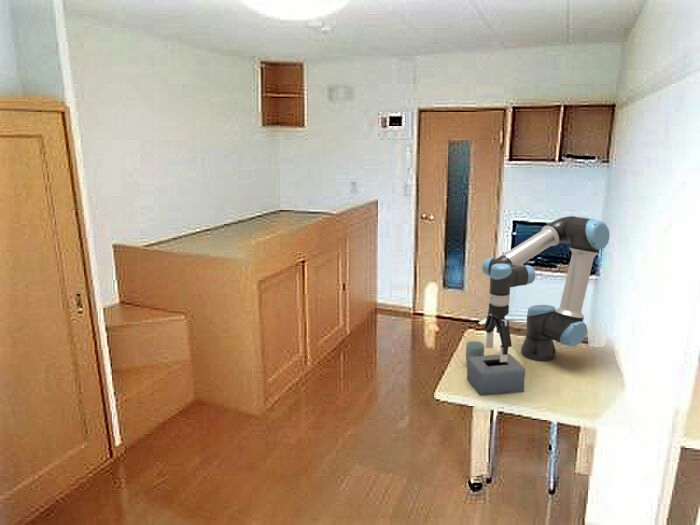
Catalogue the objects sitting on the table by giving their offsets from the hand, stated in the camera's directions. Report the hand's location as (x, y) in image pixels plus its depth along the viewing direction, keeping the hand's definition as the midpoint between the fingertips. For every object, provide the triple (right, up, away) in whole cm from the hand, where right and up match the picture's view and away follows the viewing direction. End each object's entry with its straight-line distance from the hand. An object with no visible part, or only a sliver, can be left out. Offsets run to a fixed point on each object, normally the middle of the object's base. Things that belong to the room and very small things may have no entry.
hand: (496, 354), depth 205 cm
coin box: (0, -13, +3) cm, 14 cm away
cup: (-4, -9, +21) cm, 23 cm away
